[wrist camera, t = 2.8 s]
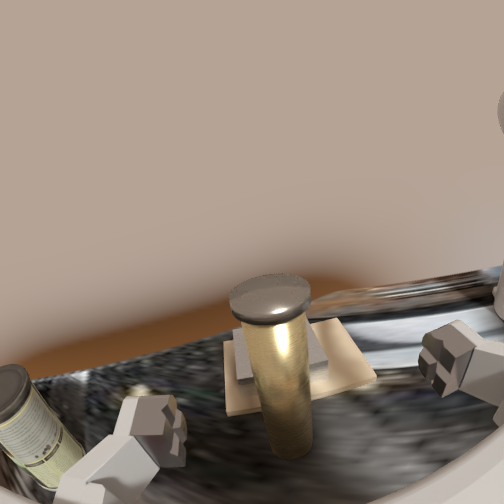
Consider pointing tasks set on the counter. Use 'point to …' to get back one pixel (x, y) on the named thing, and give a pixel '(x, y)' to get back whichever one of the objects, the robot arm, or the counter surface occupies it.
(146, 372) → the counter surface
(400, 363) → the counter surface
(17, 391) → the coffee can
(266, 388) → the brass peg
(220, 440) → the counter surface
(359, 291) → the counter surface
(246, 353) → the jig
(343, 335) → the jig plate
